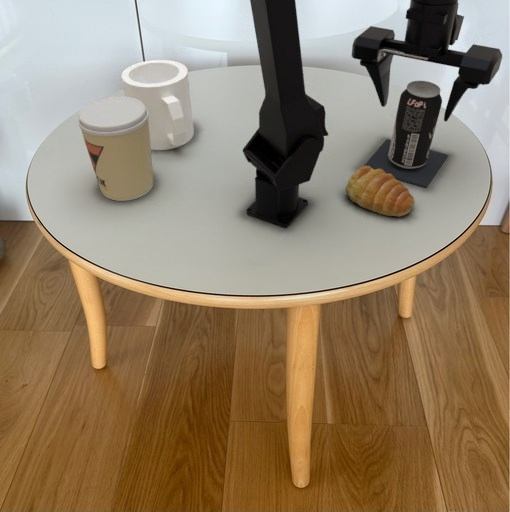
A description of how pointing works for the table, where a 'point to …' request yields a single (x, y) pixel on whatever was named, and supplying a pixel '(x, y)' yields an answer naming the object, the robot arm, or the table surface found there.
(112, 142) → the coffee cup
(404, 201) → the pastry
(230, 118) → the table surface
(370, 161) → the coaster
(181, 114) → the mug
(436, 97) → the beverage can
